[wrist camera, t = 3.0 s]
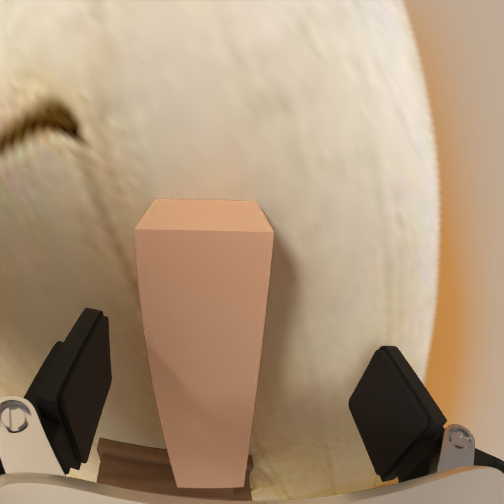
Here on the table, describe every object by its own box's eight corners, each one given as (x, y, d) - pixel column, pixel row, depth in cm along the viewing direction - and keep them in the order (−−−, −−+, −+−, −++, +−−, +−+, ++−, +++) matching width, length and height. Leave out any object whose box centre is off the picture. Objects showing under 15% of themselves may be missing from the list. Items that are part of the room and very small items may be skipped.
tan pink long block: (156, 197, 12) (133, 229, 9) (255, 199, 13) (274, 232, 9) (178, 438, 18) (177, 487, 15) (237, 438, 19) (243, 487, 15)
